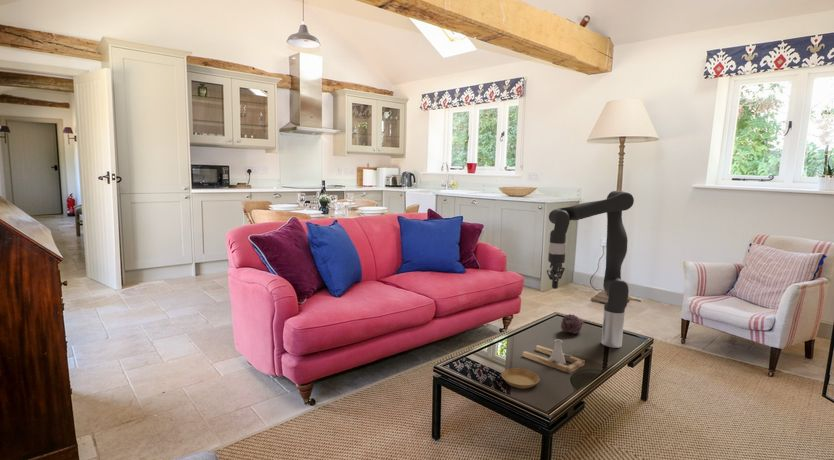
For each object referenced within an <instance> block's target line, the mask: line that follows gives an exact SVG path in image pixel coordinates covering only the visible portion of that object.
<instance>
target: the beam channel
mask: <svg viewBox="0 0 834 460" xmlns="http://www.w3.org/2000/svg"><path fill="white" fill-rule="evenodd" d="M535 351H537V352H540V353H543V354H545V355H549V356H551V354H552V351H553V349H551V348H549V347H546V346H543V345H539V344H538V345H536V346H535ZM563 355H564V358H565V361H567V362H569V363H571V364H569V365H566V364H561V363H559V362H558V361H555V360H550V359H549V358H547V357H544V356H541V355H538V354H536V353H535V354H534V353H532V352H530V351H527V350H524V351H523V352H522V357H524V358H526V359H529V360H532V361H534V362H537V363H539V364H543V365H545V366H549V367H550V368H553V369H557V370H559V371H562V372H566V373H568V374H572V373H573V372H575V371H577V370H578V369H580V368H582V367H583V366H585V364H586V360H584V359H582V358H579V357H576V356H573V355H571V354H570V353H569V354H568V353H564V352H563Z"/></svg>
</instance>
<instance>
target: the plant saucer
mask: <svg viewBox="0 0 834 460" xmlns="http://www.w3.org/2000/svg"><path fill="white" fill-rule="evenodd" d="M501 377H502V379H503V380H504V381H505V383H506V384H507V385H508V386H510V387H514V388H517V389H530V388H532V387H534V386H536V385H537V384H538V383H539V382H540V376H539V375H538V374H537V373H535V372H534V371H532V370H529V369H527V368H526V369H524V368H518V367H513V368H512V367H511V368H507V369H505V370H503V371H502V372H501Z"/></svg>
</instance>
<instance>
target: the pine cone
mask: <svg viewBox="0 0 834 460" xmlns="http://www.w3.org/2000/svg"><path fill="white" fill-rule="evenodd" d="M561 320H562V321H561V323H560V328H561V330H562V331H563V332H565V333H571V334H575V335H576V334H579V333H580V331H581V329H582V327H583V325H584V324H585V321H583V320H581V319H580V318H579V317H578V316H576V315H574V314H568V315H567V314H566V315H565V316H564V318H562V319H561Z"/></svg>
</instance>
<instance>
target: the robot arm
mask: <svg viewBox="0 0 834 460" xmlns="http://www.w3.org/2000/svg"><path fill="white" fill-rule="evenodd" d="M634 202H635V198H634V196H633V195H632V193H630V192H629V191H625V190H612V191H610V192H609V193H608V195H607V196H606V198H605V199H601V200H594V201H586V202H583V203H577V204H574V205H571V206H566V207H560V208H556V209H553V210H551V211H550V212H549V214H548V220H549V222H550V223H551V224H553V225H554V227H553V229H552V230H551V231H550V234H549V245H548V256H547V258H548V259H547V261H548V262H549V263H550V265H549V269H547V270H546V274H547V276H548V279H549V280H550V281H551V288H552V289H554V290H557V289H558V288H559V281H560V280H561V279H562V277H563V275H564V272H565V271H566V268H565V267H563V264H564V263H565V262H566V250H567V247H566V242H567V241H566V240H567V233H568V229H569V225H570V221H579V220H583V219H586V218H590V217H593V216H594V217H595V216H597V215H602V214H606V216H607V217H606V218H607V221H606V222H607V223H606V226H607V227H606V247H605V249H606V253H605V271H604V277H603V283H602V284H603V290H604V292H605V293H606V294H607V295H608V298H607V302H605V303H604V305H603V319H602V328H601V329H602V331H601V344H602V345H603V346H605V347H608V348H614V349H615V348H618V349H619V348H622V345H623V338H624V337H623V335H624V324H625V323H624V322H625V311H626V308H627V305H628V299H629V285H628V283H627V282H626V281H625V280H624V279H623V280H622V274H621V273H622V265H623V262H624V260H625V259H626V256H627V254H628V253H627V252H628V235H627V231H626V229H625V226H624V224H623V217H622V216H623V211H628V210H629V209H632V207H633V205H634Z"/></svg>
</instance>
